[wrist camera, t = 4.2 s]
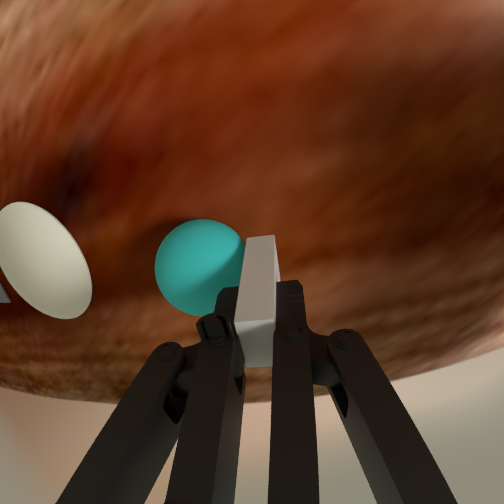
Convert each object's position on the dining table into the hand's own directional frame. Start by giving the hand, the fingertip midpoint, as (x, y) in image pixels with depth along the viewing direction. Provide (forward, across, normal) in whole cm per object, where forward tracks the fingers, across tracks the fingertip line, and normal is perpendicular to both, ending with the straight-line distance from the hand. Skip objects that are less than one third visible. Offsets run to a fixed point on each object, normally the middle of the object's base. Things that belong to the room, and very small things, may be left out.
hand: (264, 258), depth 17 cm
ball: (0, +4, 0) cm, 4 cm away
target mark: (+3, +20, 0) cm, 20 cm away
